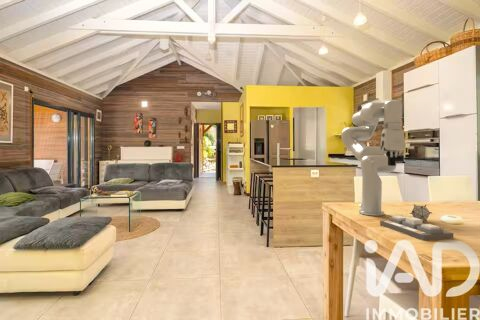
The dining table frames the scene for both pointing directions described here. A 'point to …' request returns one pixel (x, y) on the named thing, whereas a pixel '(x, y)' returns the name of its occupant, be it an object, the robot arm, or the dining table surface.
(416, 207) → the game die
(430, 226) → the button
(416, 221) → the middle button
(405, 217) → the button
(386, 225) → the button board
